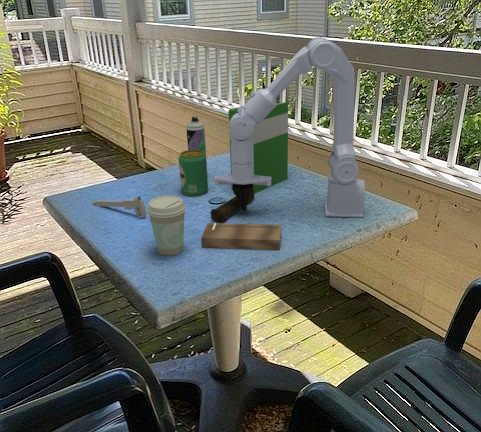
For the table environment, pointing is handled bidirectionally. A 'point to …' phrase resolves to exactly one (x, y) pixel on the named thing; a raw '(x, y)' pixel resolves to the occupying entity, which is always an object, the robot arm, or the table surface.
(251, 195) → the dark brown rod
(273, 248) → the walnut board
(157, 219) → the coffee cup
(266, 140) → the hardback book
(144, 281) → the table surface
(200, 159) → the green can
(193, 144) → the spray can
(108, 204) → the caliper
